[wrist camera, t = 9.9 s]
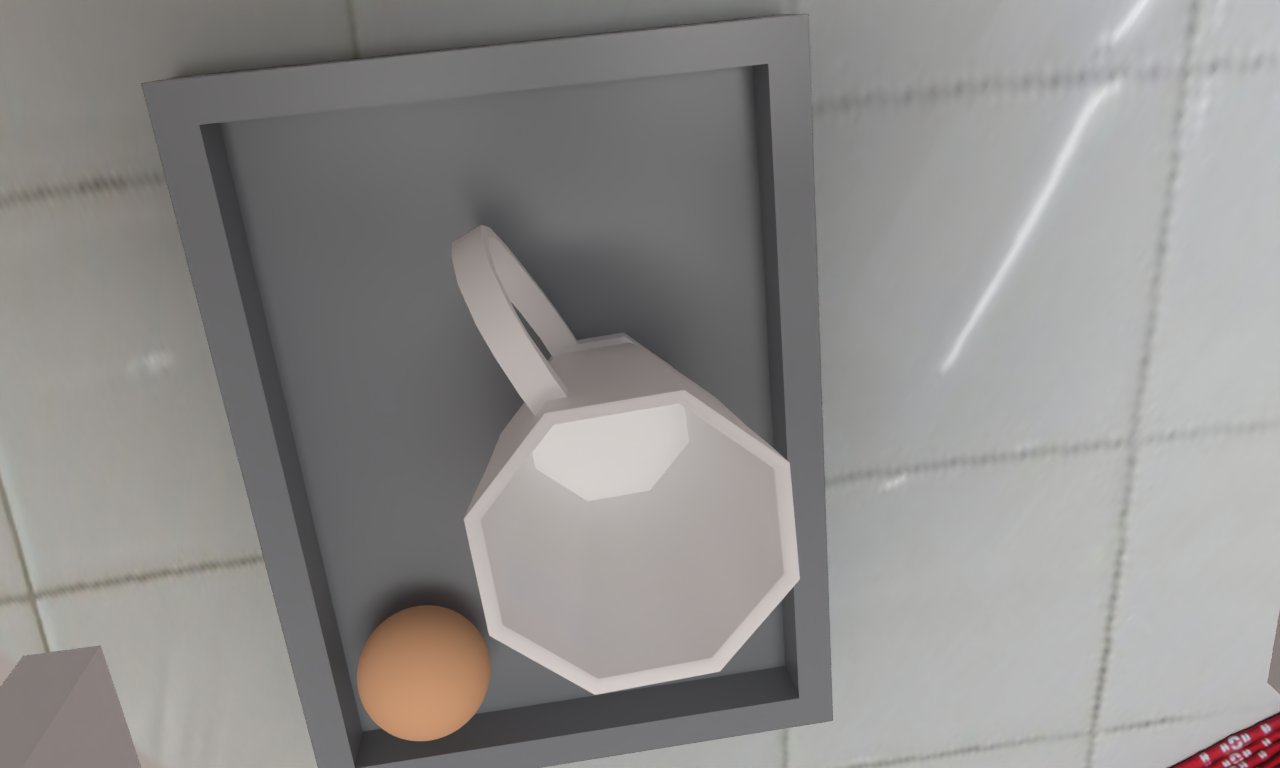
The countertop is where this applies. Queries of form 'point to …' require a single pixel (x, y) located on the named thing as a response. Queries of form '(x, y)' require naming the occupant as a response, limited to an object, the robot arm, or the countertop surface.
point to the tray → (459, 356)
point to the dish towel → (1243, 749)
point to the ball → (423, 673)
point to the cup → (616, 500)
